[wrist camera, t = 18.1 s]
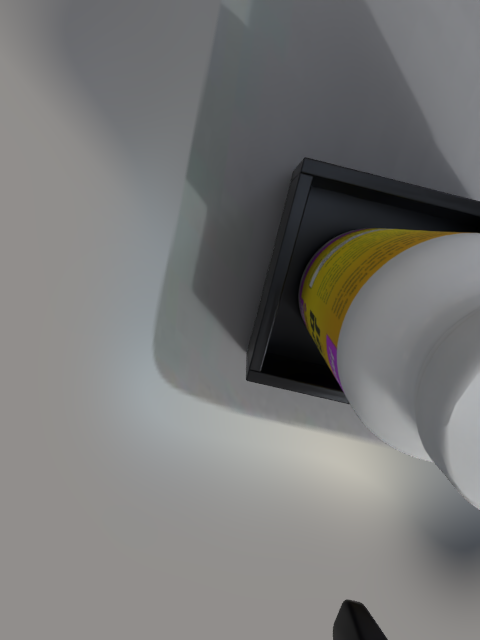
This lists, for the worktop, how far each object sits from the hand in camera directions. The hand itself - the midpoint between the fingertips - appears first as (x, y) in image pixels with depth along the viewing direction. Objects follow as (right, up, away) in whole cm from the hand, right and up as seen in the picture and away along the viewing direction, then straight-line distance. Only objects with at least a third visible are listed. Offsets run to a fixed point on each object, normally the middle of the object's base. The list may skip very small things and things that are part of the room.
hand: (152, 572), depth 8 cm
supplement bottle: (+8, +7, +11) cm, 15 cm away
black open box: (+9, +7, +11) cm, 16 cm away
